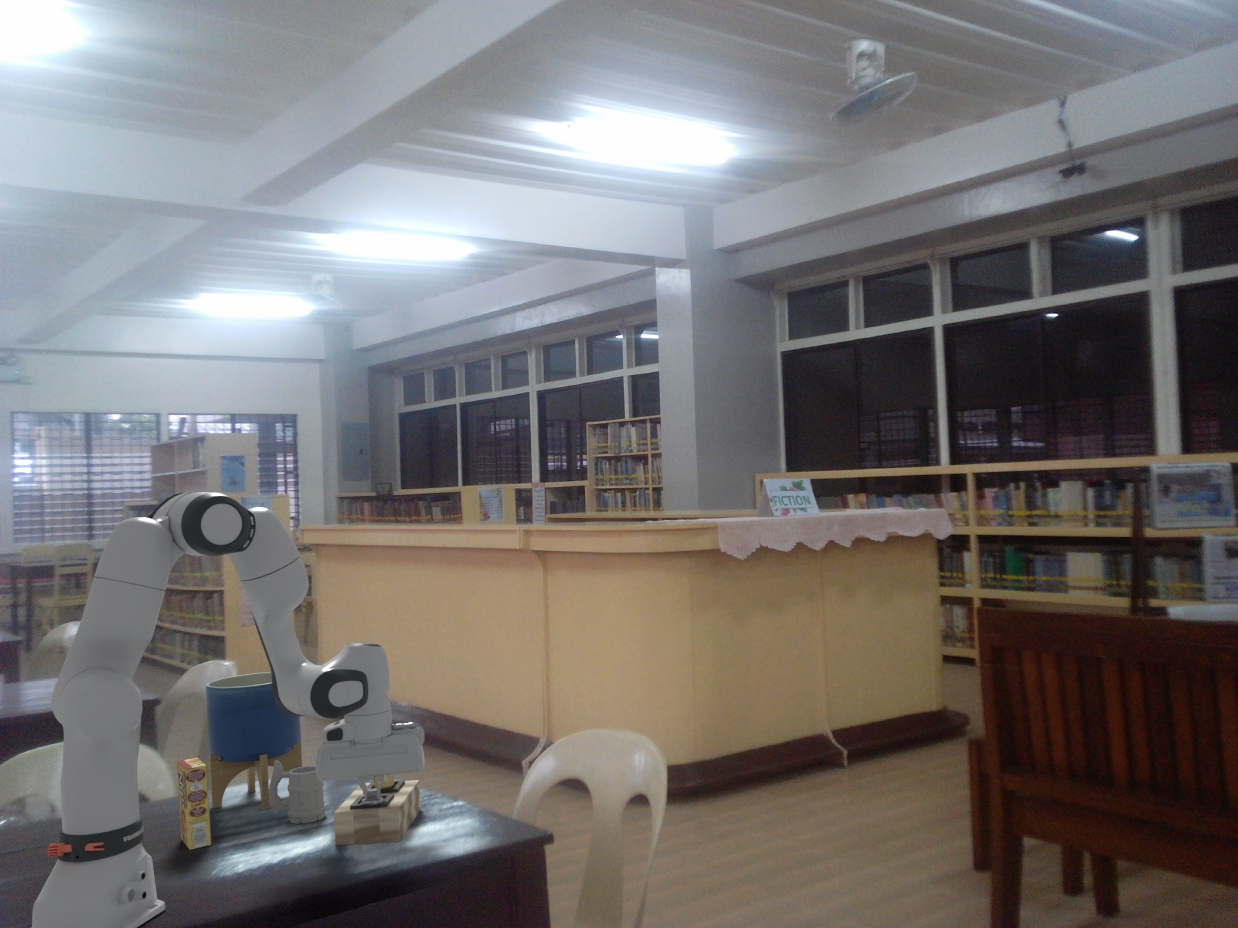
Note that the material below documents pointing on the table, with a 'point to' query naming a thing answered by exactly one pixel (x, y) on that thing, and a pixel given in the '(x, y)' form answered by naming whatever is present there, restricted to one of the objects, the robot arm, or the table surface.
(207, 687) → the planter
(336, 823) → the socket block
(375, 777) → the peg
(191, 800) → the candy box
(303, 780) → the mug
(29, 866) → the table surface
